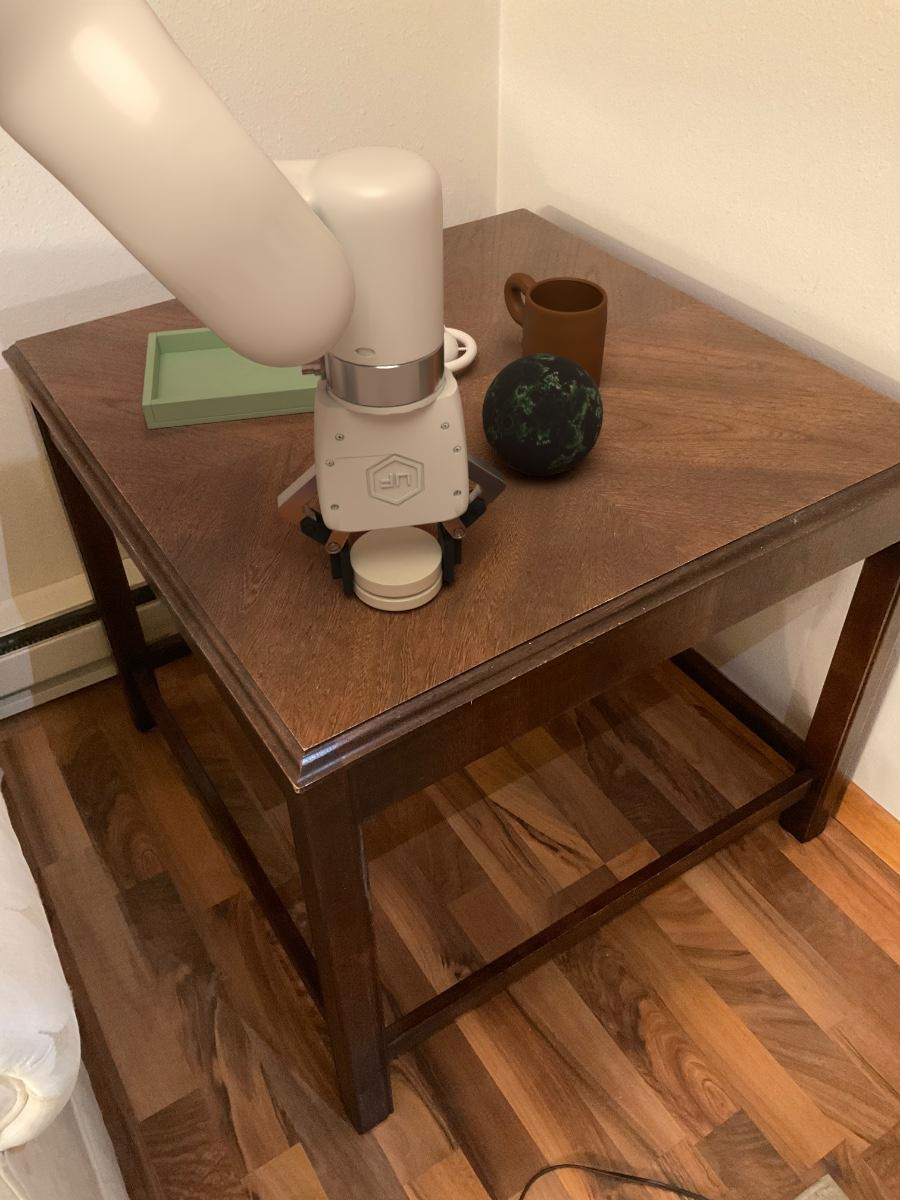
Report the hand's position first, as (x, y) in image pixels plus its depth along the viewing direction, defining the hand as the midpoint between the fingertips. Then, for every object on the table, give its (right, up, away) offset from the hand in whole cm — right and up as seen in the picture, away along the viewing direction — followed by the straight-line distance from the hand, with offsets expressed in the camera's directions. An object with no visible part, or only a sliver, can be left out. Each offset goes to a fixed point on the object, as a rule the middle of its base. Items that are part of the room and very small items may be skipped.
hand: (396, 574), depth 74 cm
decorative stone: (+12, +10, +12) cm, 19 cm away
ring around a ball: (+3, +21, +24) cm, 32 cm away
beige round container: (0, -1, +1) cm, 1 cm away
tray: (-16, +19, +22) cm, 34 cm away
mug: (+13, +20, +22) cm, 33 cm away
